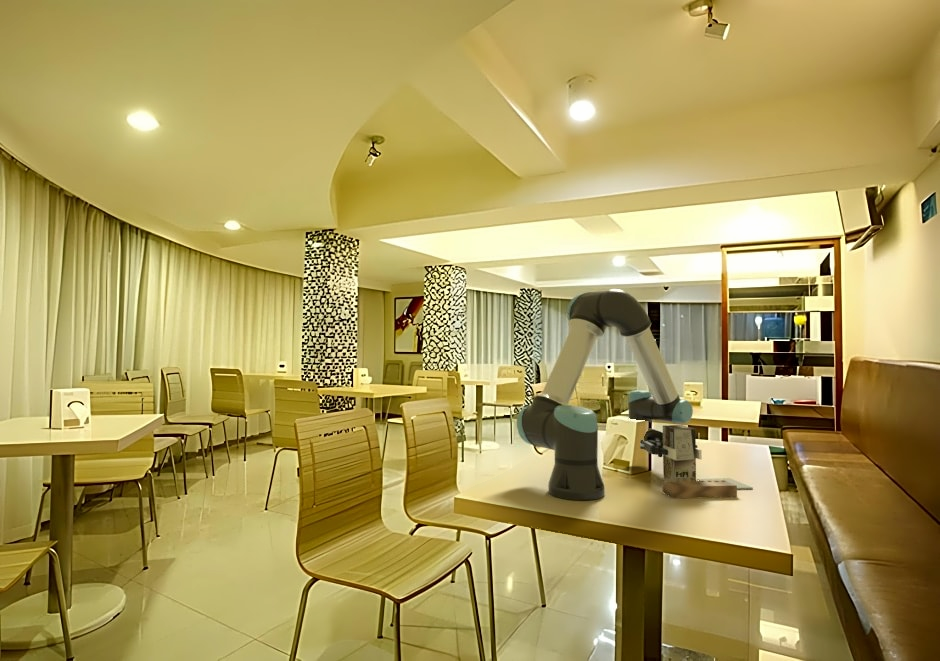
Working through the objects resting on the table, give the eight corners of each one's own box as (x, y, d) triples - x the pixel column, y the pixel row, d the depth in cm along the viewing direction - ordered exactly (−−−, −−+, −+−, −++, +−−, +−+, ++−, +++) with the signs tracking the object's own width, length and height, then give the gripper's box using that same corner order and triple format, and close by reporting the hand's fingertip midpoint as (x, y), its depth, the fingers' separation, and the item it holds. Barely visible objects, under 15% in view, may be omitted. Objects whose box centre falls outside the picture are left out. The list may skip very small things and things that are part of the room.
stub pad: (717, 490, 146) (717, 488, 146) (697, 480, 157) (697, 478, 157) (752, 489, 147) (752, 487, 147) (730, 479, 158) (730, 478, 158)
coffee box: (697, 486, 145) (696, 428, 146) (674, 486, 146) (673, 428, 146) (684, 479, 155) (683, 424, 155) (662, 478, 155) (661, 424, 155)
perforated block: (672, 498, 137) (672, 485, 138) (662, 492, 143) (662, 480, 143) (737, 496, 139) (736, 484, 139) (725, 491, 144) (725, 479, 144)
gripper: (681, 452, 169) (721, 467, 146) (622, 453, 167) (653, 468, 144) (681, 429, 169) (720, 440, 146) (622, 429, 168) (653, 441, 145)
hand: (687, 454), depth 145 cm, fingers closed on coffee box, 7 cm apart
